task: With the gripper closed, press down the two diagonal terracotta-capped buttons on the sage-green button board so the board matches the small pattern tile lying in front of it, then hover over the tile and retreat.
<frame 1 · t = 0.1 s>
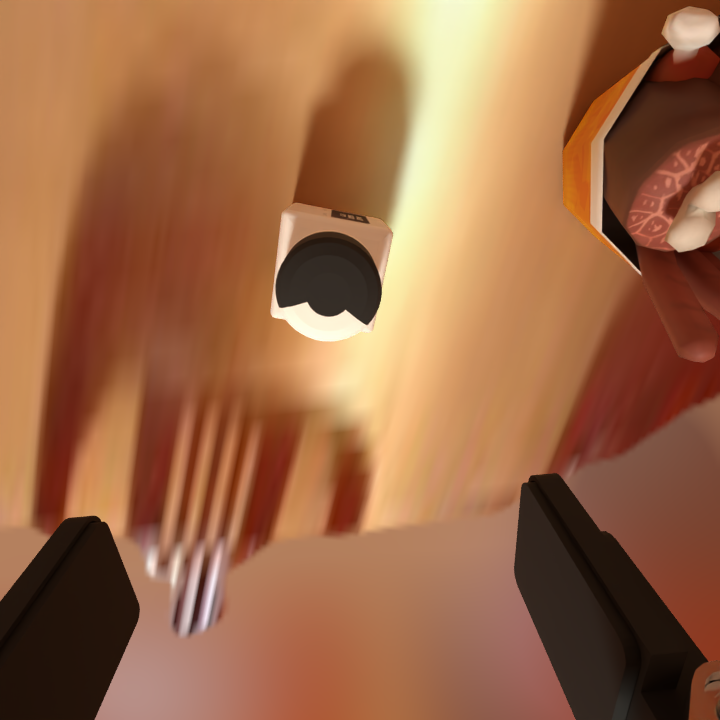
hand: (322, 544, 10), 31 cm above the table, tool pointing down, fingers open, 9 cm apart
container: (331, 255, 39), on the table
bucket of meat: (623, 170, 37), on the table
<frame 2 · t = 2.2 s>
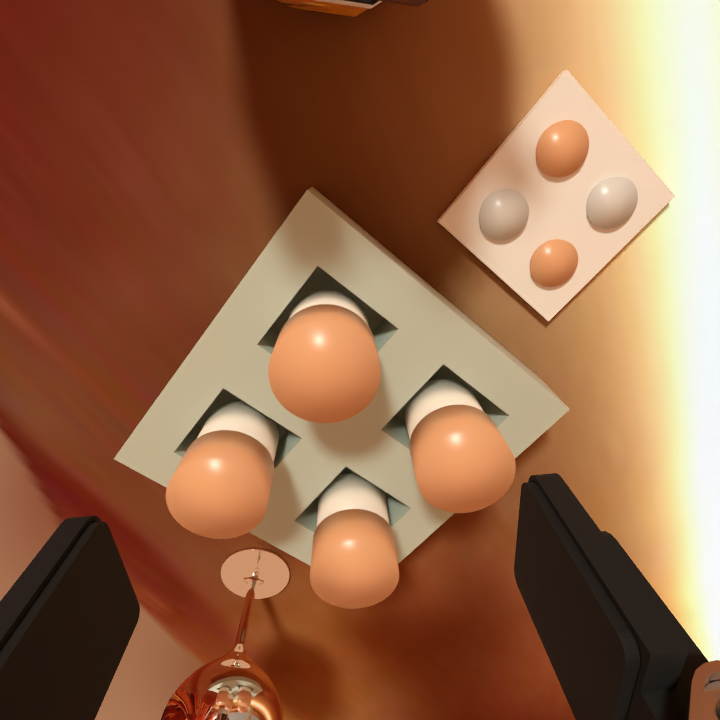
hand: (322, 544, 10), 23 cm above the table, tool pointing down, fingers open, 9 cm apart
pattern tile: (552, 208, 29), on the table
button a: (451, 439, 28), point 7 cm above the table, slide at 0.0 cm
board: (341, 398, 34), on the table
wineglass: (255, 570, 42), on the table
button b: (326, 348, 25), point 7 cm above the table, slide at 0.0 cm
button d: (231, 463, 28), point 7 cm above the table, slide at 0.0 cm
button c: (353, 535, 31), point 7 cm above the table, slide at 0.0 cm
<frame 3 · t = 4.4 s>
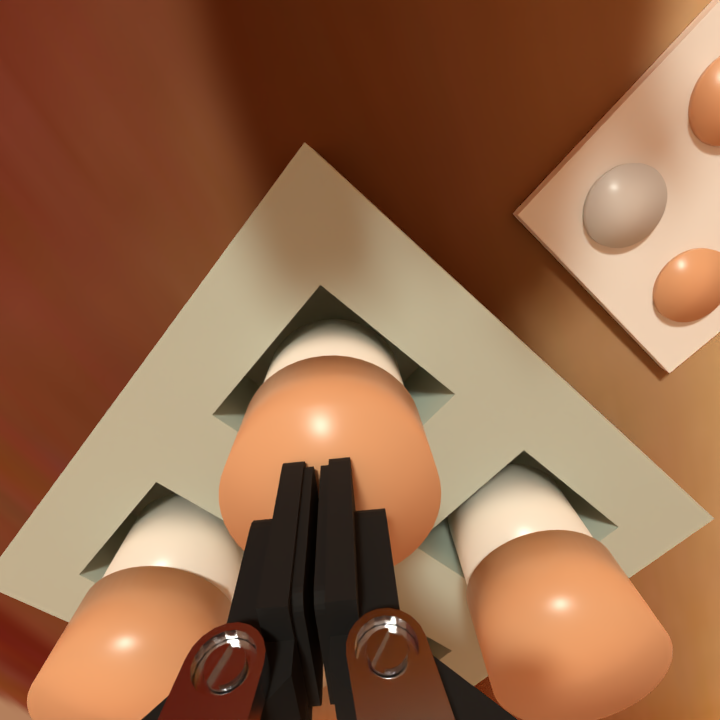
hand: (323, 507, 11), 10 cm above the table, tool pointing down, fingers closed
pattern tile: (697, 198, 18), on the table
button a: (535, 576, 17), point 7 cm above the table, slide at 0.0 cm
board: (348, 475, 23), on the table
button b: (333, 428, 14), point 7 cm above the table, slide at 0.4 cm, touching gripper
button d: (165, 609, 17), point 7 cm above the table, slide at 0.0 cm
button c: (364, 704, 20), point 7 cm above the table, slide at 0.0 cm
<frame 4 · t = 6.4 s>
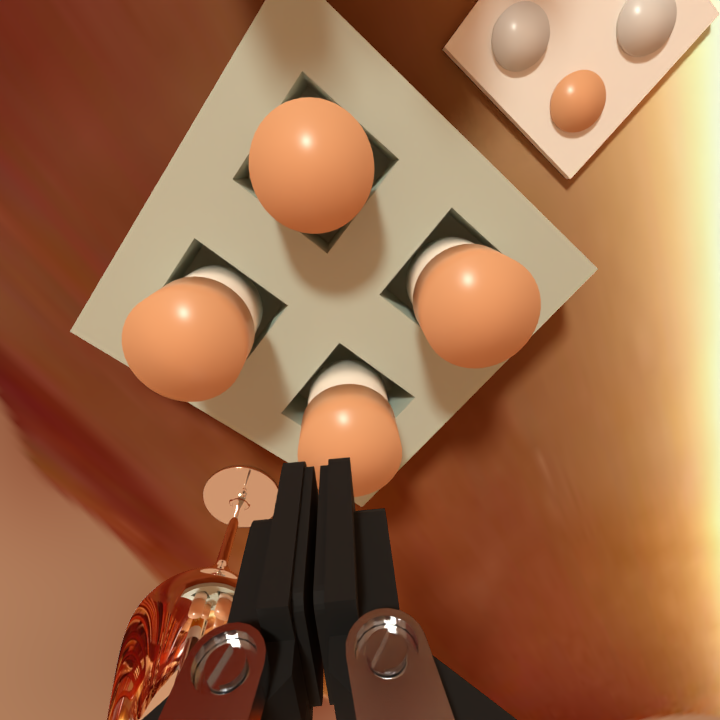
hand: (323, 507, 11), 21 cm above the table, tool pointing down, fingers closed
pattern tile: (576, 33, 25), on the table
button a: (462, 294, 24), point 7 cm above the table, slide at 0.0 cm
board: (334, 280, 30), on the table
wineglass: (242, 494, 38), on the table
button b: (315, 169, 23), point 5 cm above the table, slide at 2.0 cm
button d: (204, 325, 24), point 7 cm above the table, slide at 0.0 cm
button c: (348, 421, 27), point 7 cm above the table, slide at 0.0 cm
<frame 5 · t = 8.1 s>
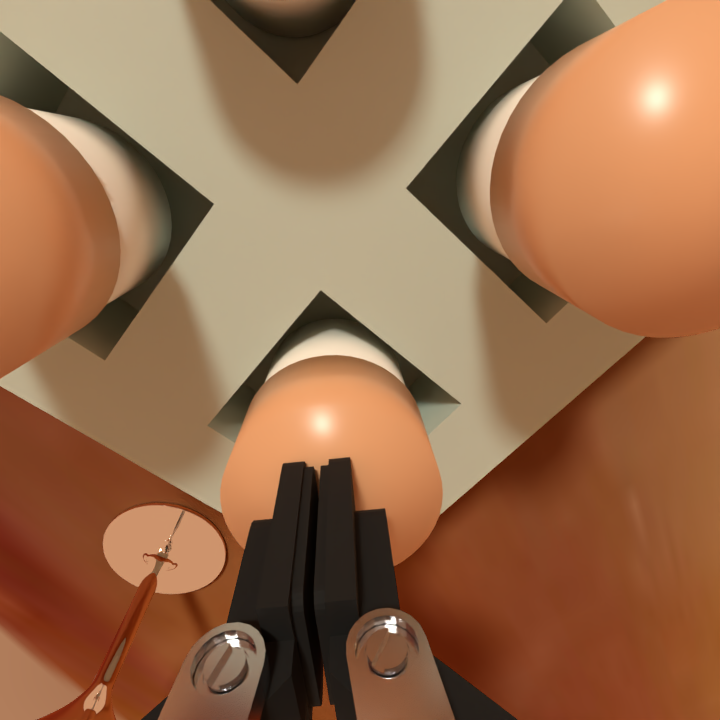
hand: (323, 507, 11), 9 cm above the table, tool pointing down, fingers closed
button a: (599, 176, 11), point 7 cm above the table, slide at 0.0 cm
board: (318, 188, 17), on the table
wineglass: (167, 545, 24), on the table
button d: (7, 225, 10), point 7 cm above the table, slide at 0.0 cm
button c: (334, 428, 14), point 6 cm above the table, slide at 1.1 cm, touching gripper
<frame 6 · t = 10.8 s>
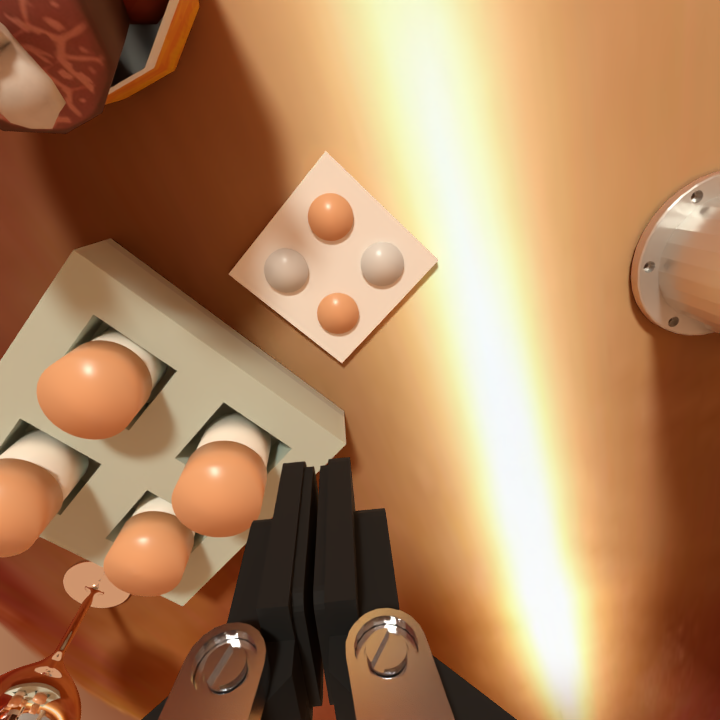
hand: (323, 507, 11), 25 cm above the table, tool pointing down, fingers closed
pattern tile: (334, 265, 33), on the table
button a: (228, 469, 31), point 7 cm above the table, slide at 0.0 cm
board: (161, 425, 38), on the table
wineglass: (99, 581, 44), on the table
button b: (111, 376, 30), point 5 cm above the table, slide at 2.0 cm
button d: (24, 487, 31), point 7 cm above the table, slide at 0.0 cm
button c: (160, 533, 36), point 5 cm above the table, slide at 2.0 cm
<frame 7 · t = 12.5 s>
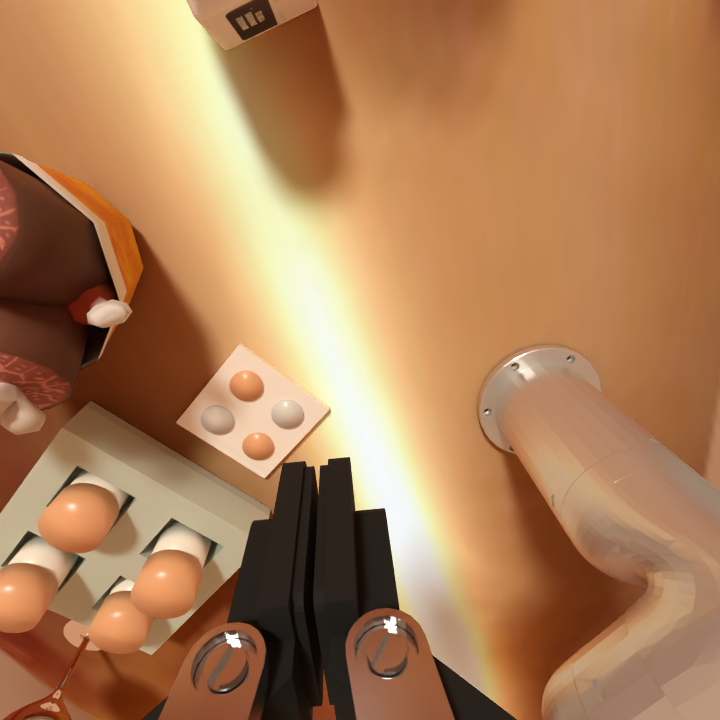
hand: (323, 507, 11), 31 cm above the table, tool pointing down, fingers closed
pattern tile: (253, 413, 45), on the table
button a: (175, 566, 44), point 7 cm above the table, slide at 0.0 cm
board: (133, 521, 50), on the table
wineglass: (91, 630, 57), on the table
bucket of meat: (71, 245, 38), on the table
button b: (91, 502, 43), point 5 cm above the table, slide at 2.0 cm
button d: (31, 579, 43), point 7 cm above the table, slide at 0.0 cm
button c: (131, 604, 48), point 5 cm above the table, slide at 2.0 cm
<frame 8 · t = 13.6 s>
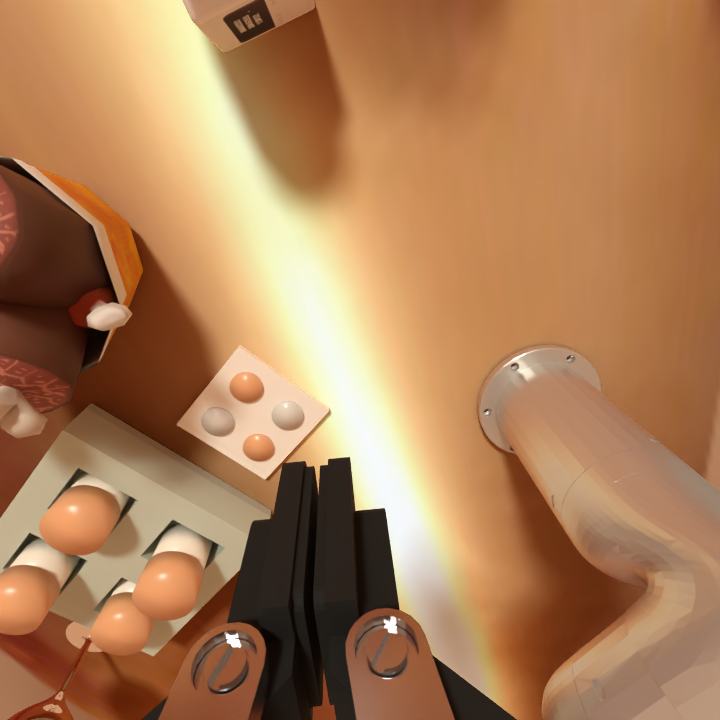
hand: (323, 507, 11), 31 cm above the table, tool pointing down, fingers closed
pattern tile: (253, 414, 45), on the table
button a: (176, 568, 44), point 7 cm above the table, slide at 0.0 cm
board: (134, 522, 50), on the table
wineglass: (93, 632, 57), on the table
bucket of meat: (71, 247, 38), on the table
button b: (92, 504, 43), point 5 cm above the table, slide at 2.0 cm
button d: (32, 581, 44), point 7 cm above the table, slide at 0.0 cm
button c: (133, 606, 48), point 5 cm above the table, slide at 2.0 cm
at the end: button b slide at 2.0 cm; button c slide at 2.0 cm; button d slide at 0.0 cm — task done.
